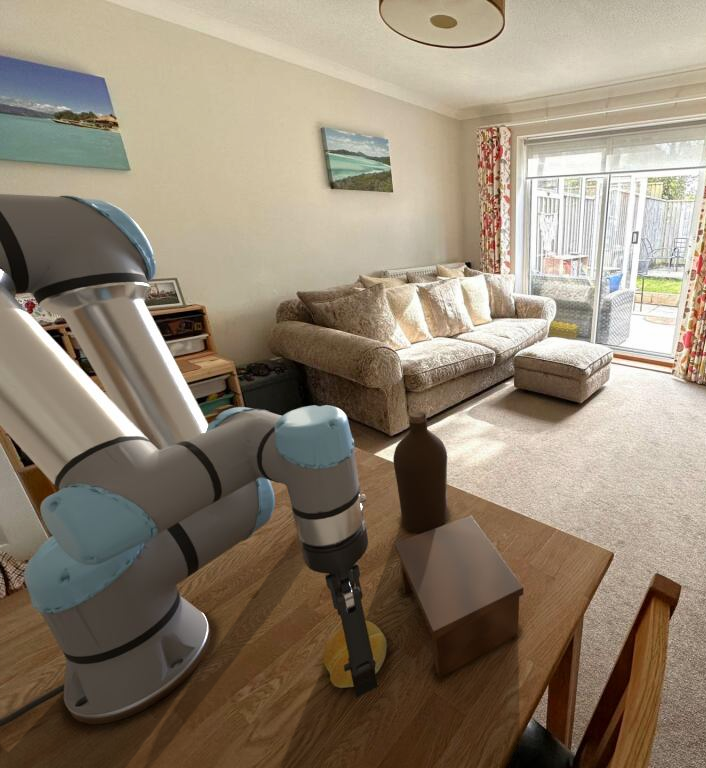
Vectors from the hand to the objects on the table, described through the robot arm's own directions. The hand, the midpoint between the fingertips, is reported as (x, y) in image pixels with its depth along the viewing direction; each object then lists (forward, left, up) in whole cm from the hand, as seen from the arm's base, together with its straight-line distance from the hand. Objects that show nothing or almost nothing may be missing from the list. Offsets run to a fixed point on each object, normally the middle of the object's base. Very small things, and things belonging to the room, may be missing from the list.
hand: (356, 646), depth 58 cm
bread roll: (0, 0, -3) cm, 3 cm away
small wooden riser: (+16, 0, -3) cm, 16 cm away
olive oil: (+19, +24, -3) cm, 31 cm away
